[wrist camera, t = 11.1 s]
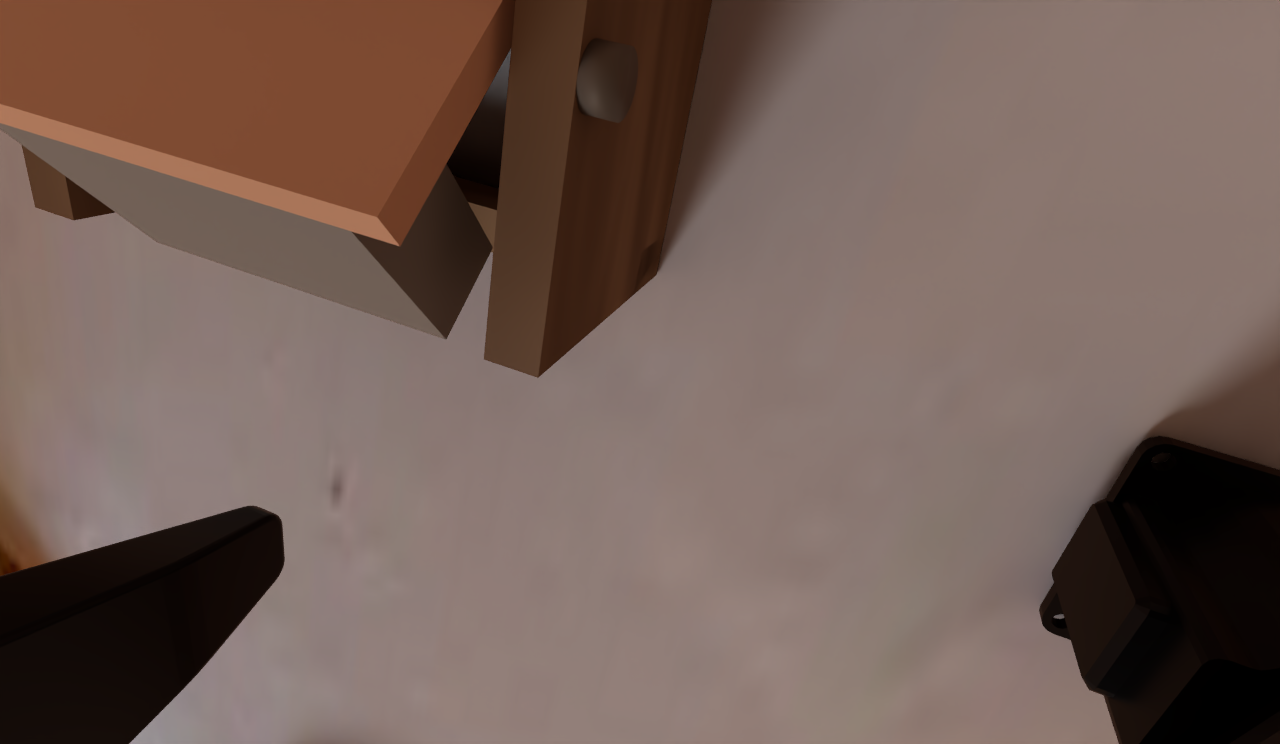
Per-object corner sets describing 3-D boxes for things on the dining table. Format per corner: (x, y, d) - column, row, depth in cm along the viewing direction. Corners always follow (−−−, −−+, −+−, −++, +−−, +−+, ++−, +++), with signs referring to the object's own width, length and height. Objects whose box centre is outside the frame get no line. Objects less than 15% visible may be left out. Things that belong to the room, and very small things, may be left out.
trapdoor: (664, -14, 18) (647, -251, 13) (485, 355, 15) (377, 216, 10) (343, -78, 20) (229, -302, 16) (123, 233, 17) (-110, 71, 12)
